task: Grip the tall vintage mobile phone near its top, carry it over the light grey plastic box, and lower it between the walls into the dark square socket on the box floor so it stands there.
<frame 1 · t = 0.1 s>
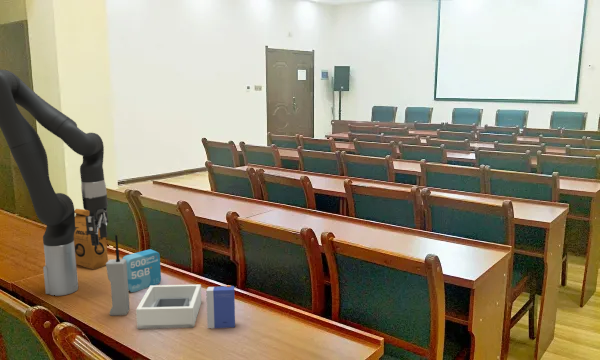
hand: (99, 241, 164), 17 cm above the table, tool pointing down, fingers open, 8 cm apart
walkman: (221, 326, 143), on the table
coffee package: (91, 265, 190), on the table
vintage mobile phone: (119, 313, 151), on the table
box: (171, 314, 150), on the table
data package: (142, 287, 170), on the table
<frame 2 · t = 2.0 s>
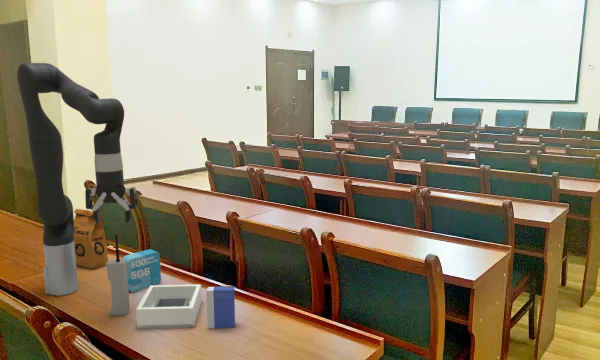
hand: (113, 222, 145), 29 cm above the table, tool pointing down, fingers open, 8 cm apart
nothing on the table moved.
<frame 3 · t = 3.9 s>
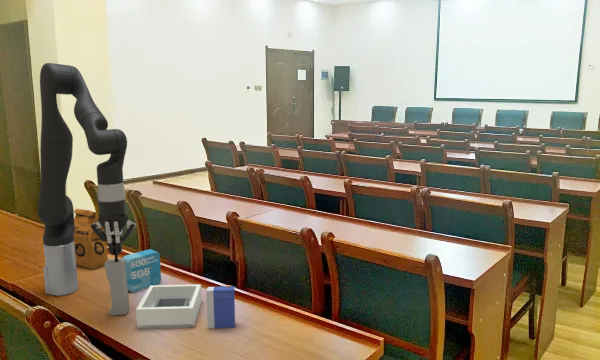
hand: (115, 253, 147), 19 cm above the table, tool pointing down, fingers closed on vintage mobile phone
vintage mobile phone: (119, 313, 151), on the table, touching gripper
everything else where it was.
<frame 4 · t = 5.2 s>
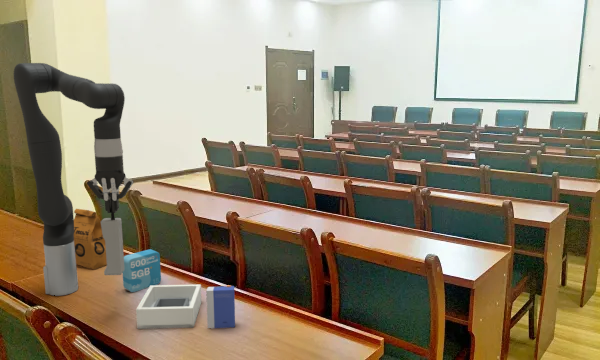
hand: (112, 212, 145), 32 cm above the table, tool pointing down, fingers closed on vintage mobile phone
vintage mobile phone: (114, 273, 148), point 13 cm above the table, touching gripper
everything else where it was.
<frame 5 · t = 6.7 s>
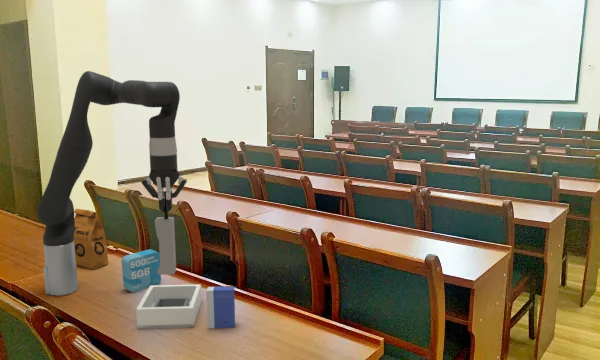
hand: (166, 211, 144), 33 cm above the table, tool pointing down, fingers closed on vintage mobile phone
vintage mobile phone: (167, 273, 147), point 13 cm above the table, touching gripper
everything else where it was.
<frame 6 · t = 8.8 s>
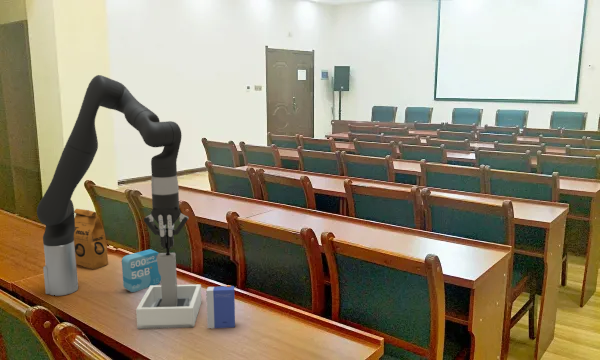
hand: (167, 247, 146), 21 cm above the table, tool pointing down, fingers closed on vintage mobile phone
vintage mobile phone: (168, 307, 149), point 2 cm above the table, touching gripper
everything else where it was.
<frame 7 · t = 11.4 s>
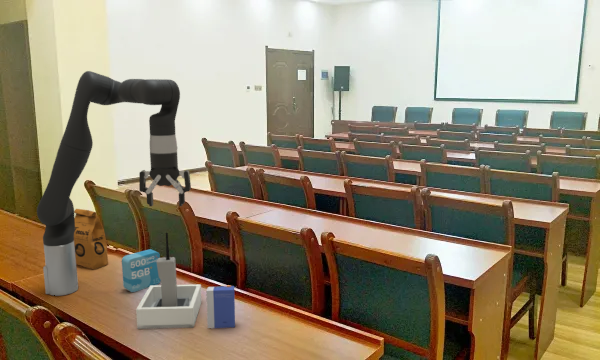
hand: (166, 205, 143), 34 cm above the table, tool pointing down, fingers open, 8 cm apart
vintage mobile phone: (168, 312, 150), point 1 cm above the table, touching box
everything else where it was.
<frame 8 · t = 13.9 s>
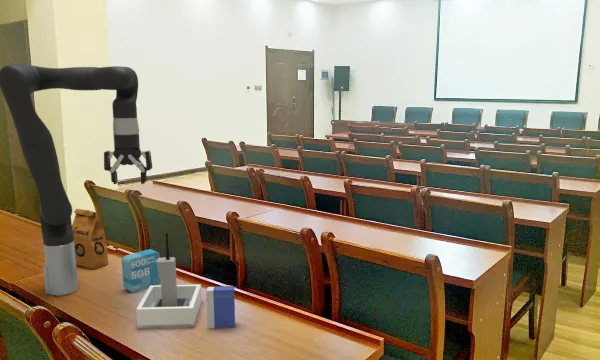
hand: (129, 183, 155), 38 cm above the table, tool pointing down, fingers open, 8 cm apart
nothing on the table moved.
at the end: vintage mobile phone inside the target area on the box (0.8 cm from its centre), point 0.8 cm above the box's base; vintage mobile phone tilted 0°; the gripper is holding nothing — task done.
